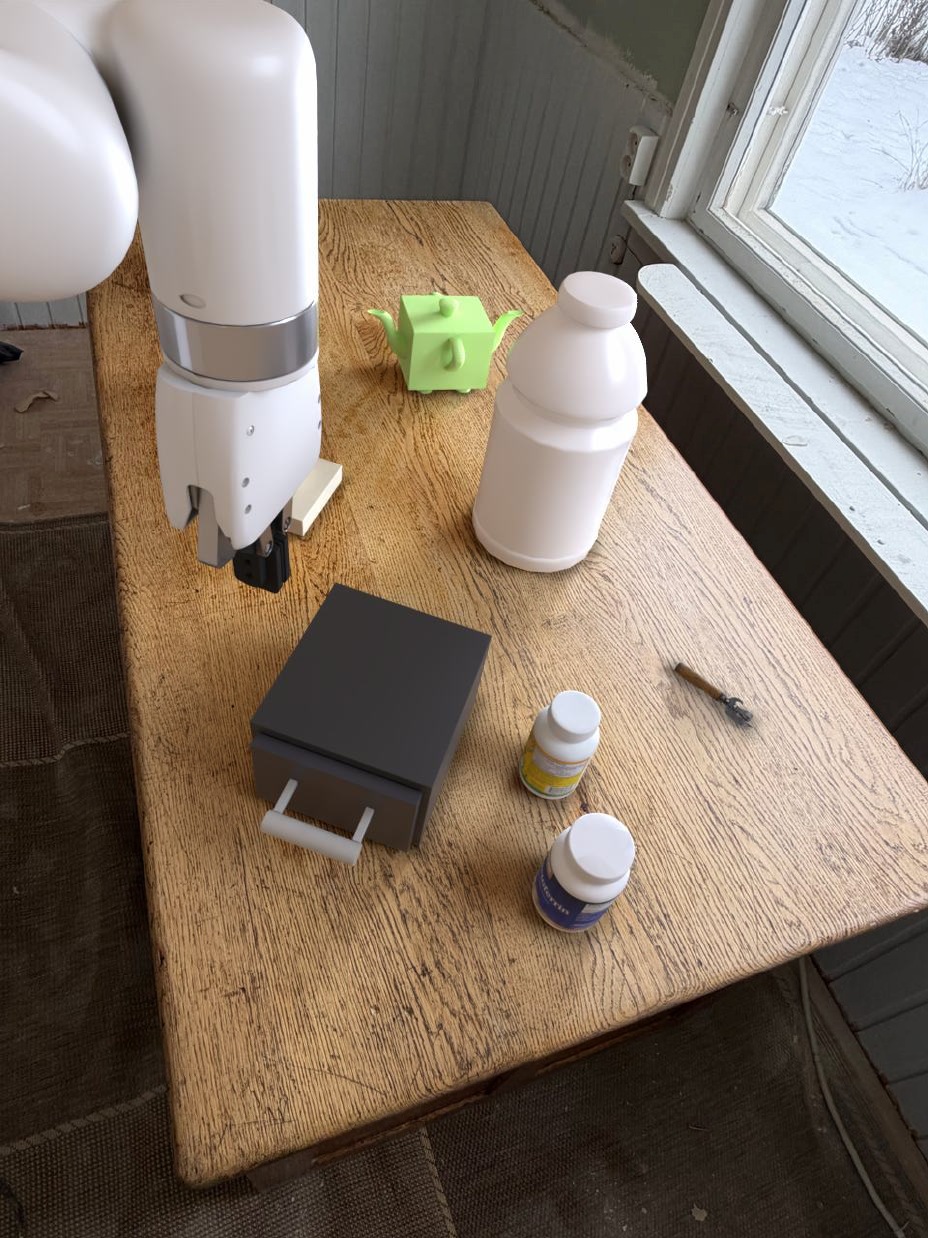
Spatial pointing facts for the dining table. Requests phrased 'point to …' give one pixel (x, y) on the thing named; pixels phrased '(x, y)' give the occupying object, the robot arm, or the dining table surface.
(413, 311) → the teapot
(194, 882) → the dining table surface
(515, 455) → the bottle
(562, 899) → the pill bottle
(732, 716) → the can opener
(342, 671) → the small drawer cabinet
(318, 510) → the control block
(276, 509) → the robot arm
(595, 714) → the supplement bottle
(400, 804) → the cabinet drawer
